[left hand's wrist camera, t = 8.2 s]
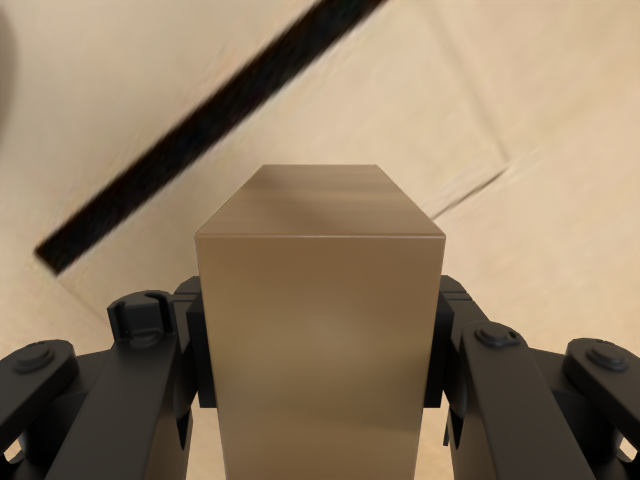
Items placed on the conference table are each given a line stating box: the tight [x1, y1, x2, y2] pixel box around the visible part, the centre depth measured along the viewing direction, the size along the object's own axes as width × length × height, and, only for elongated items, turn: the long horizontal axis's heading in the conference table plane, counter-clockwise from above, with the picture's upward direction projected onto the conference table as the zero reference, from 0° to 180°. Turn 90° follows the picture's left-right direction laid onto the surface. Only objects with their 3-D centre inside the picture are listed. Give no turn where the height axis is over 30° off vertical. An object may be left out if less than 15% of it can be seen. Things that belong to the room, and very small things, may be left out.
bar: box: [195, 165, 446, 480], centre depth 14 cm, size 22×4×8 cm, turn 0°
